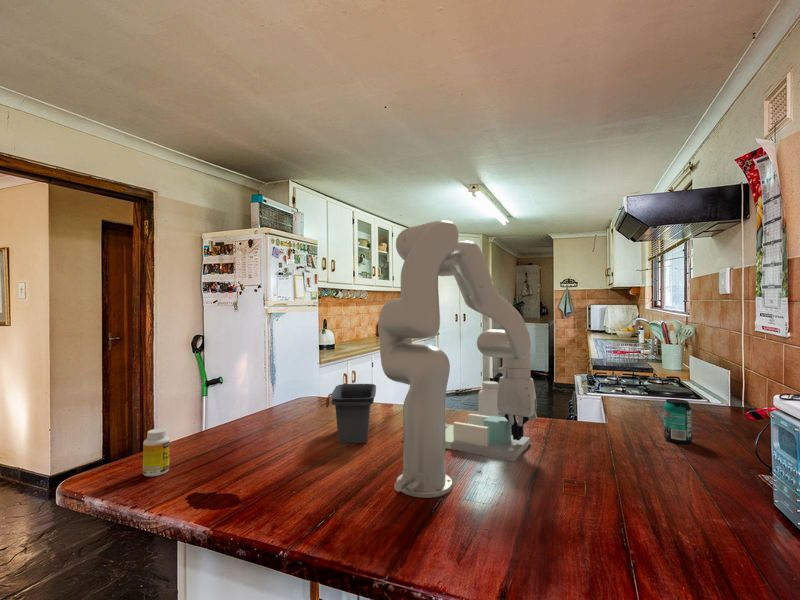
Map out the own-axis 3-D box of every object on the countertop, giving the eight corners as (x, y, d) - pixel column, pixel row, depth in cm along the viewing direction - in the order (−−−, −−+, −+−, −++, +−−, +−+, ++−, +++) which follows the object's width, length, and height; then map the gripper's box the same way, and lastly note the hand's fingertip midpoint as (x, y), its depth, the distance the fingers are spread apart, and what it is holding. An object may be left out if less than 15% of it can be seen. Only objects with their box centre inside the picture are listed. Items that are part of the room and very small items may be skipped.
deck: (514, 461, 106) (514, 434, 106) (402, 439, 124) (402, 416, 124) (530, 444, 120) (529, 420, 120) (427, 426, 138) (427, 405, 138)
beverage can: (683, 437, 126) (682, 398, 127) (697, 445, 119) (696, 403, 120) (659, 436, 127) (658, 398, 127) (671, 444, 120) (671, 403, 120)
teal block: (504, 445, 113) (504, 423, 113) (483, 441, 117) (483, 420, 117) (511, 439, 118) (510, 418, 119) (491, 435, 122) (491, 415, 122)
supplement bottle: (165, 476, 97) (165, 433, 98) (139, 478, 96) (139, 434, 96) (172, 467, 103) (172, 426, 103) (147, 469, 101) (147, 428, 102)
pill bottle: (504, 430, 134) (504, 384, 134) (480, 430, 134) (480, 384, 134) (499, 423, 142) (499, 380, 142) (476, 423, 142) (476, 380, 142)
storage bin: (375, 446, 118) (375, 397, 119) (321, 447, 118) (321, 397, 118) (376, 425, 140) (376, 383, 140) (330, 426, 139) (330, 383, 139)
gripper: (486, 373, 115) (487, 438, 115) (540, 377, 107) (541, 447, 107) (495, 369, 122) (496, 431, 122) (547, 373, 114) (548, 439, 114)
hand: (517, 438), depth 114 cm, fingers closed
